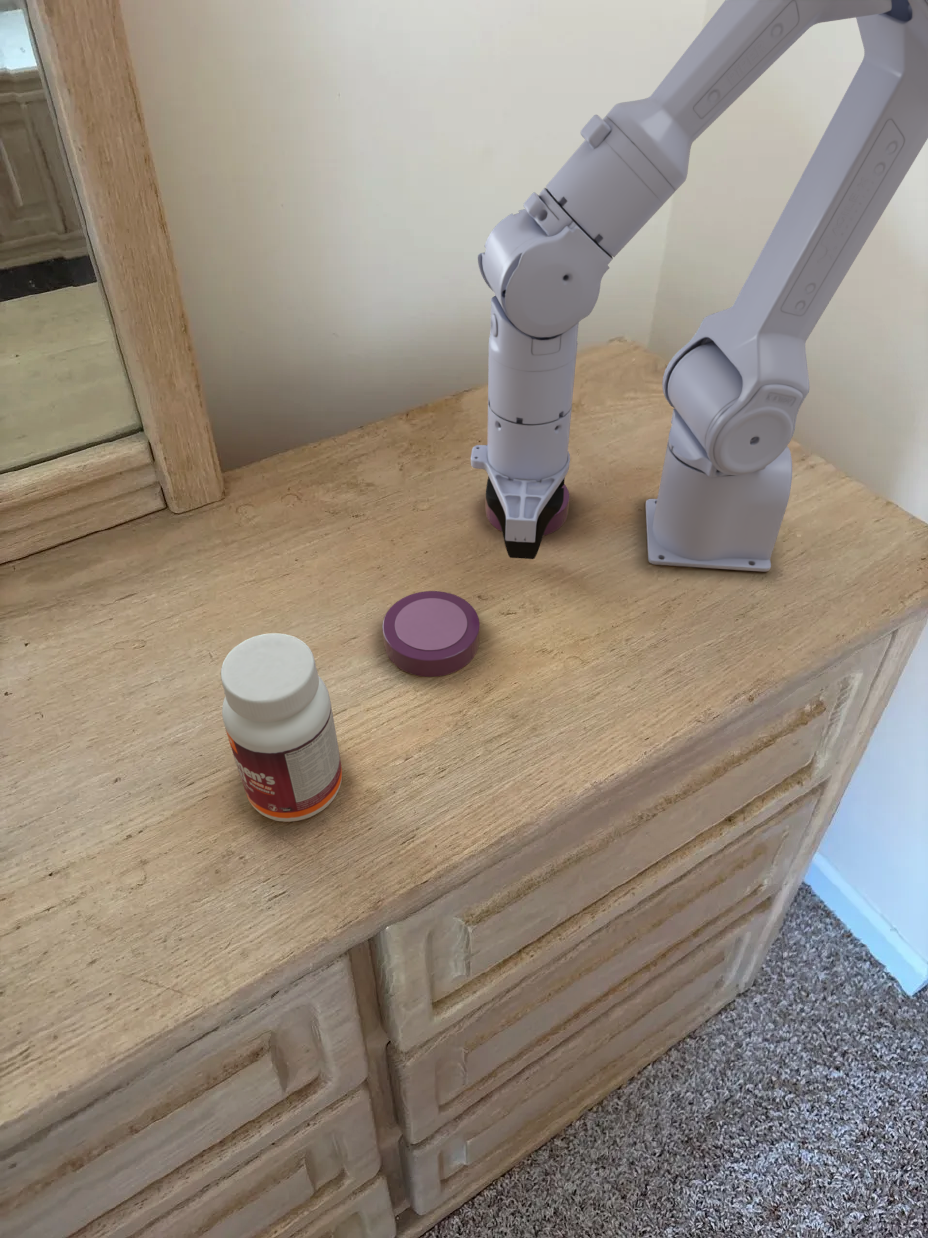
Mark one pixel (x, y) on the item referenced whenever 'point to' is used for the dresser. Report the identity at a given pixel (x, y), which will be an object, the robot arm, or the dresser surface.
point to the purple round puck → (552, 525)
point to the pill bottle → (280, 727)
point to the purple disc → (431, 633)
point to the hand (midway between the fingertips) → (522, 552)
